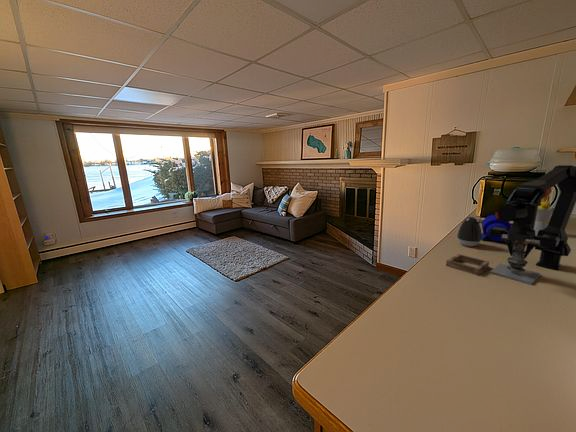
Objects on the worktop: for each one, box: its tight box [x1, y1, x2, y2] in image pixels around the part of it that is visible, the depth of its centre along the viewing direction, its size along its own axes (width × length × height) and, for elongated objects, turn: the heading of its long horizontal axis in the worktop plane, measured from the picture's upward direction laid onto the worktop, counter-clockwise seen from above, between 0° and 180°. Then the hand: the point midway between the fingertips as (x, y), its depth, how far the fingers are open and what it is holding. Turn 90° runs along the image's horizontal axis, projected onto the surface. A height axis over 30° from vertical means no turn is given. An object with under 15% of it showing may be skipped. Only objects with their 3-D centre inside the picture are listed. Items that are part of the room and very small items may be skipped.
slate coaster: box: [489, 262, 541, 286], centre depth 94 cm, size 12×12×1 cm
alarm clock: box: [481, 211, 512, 242], centre depth 129 cm, size 12×12×15 cm
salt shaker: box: [506, 241, 529, 272], centre depth 92 cm, size 6×6×12 cm
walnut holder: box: [445, 253, 490, 276], centre depth 102 cm, size 11×11×2 cm
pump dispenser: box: [456, 216, 484, 247], centre depth 124 cm, size 10×10×15 cm
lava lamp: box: [534, 171, 555, 236], centre depth 134 cm, size 9×9×35 cm
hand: (517, 257), depth 92 cm, fingers closed on salt shaker, 3 cm apart
